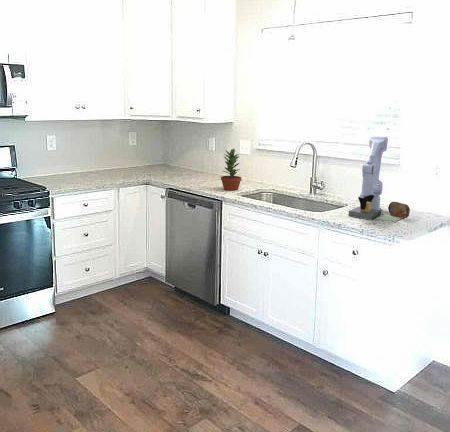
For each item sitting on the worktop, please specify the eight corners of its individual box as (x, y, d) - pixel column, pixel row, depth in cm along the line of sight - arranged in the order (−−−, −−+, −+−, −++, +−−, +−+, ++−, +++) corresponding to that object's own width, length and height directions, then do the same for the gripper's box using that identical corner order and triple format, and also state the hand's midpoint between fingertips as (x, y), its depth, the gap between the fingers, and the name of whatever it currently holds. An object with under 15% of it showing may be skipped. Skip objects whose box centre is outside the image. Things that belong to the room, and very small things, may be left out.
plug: (362, 214, 300) (363, 200, 299) (370, 215, 298) (371, 202, 296) (359, 215, 297) (360, 202, 295) (367, 216, 294) (368, 203, 293)
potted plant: (233, 186, 376) (234, 145, 369) (245, 190, 364) (246, 147, 357) (215, 188, 368) (216, 146, 361) (227, 192, 356) (228, 148, 349)
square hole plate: (358, 211, 307) (358, 206, 306) (381, 215, 299) (381, 210, 298) (348, 215, 296) (348, 210, 295) (371, 219, 288) (372, 214, 287)
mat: (382, 215, 298) (382, 214, 298) (401, 218, 292) (401, 217, 291) (375, 219, 289) (375, 218, 289) (394, 222, 283) (394, 221, 283)
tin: (387, 214, 302) (388, 200, 300) (391, 213, 303) (392, 199, 301) (405, 220, 289) (407, 205, 287) (409, 219, 290) (411, 205, 288)
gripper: (369, 187, 285) (367, 211, 288) (378, 184, 297) (376, 207, 300) (357, 186, 289) (355, 209, 293) (367, 182, 301) (365, 205, 304)
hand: (365, 208), depth 296 cm, fingers open, 7 cm apart
